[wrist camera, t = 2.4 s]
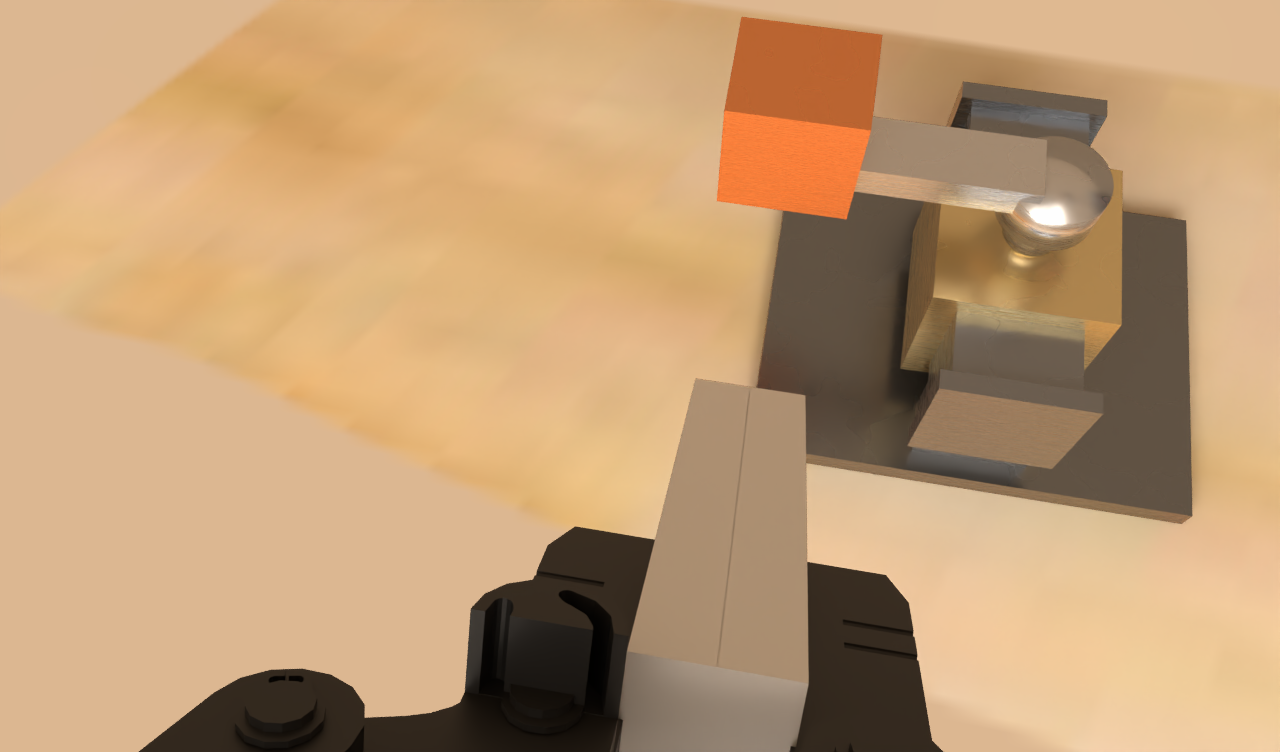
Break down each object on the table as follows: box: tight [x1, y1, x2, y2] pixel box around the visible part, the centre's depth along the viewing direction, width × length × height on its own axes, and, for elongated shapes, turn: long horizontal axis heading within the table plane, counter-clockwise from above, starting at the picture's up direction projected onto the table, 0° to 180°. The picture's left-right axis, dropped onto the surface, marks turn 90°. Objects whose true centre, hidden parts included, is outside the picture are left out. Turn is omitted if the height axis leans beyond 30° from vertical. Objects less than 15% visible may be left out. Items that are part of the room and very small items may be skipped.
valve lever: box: [717, 17, 1114, 251], centre depth 30 cm, size 10×3×4 cm, turn 80°
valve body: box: [757, 82, 1192, 524], centre depth 35 cm, size 14×11×8 cm
